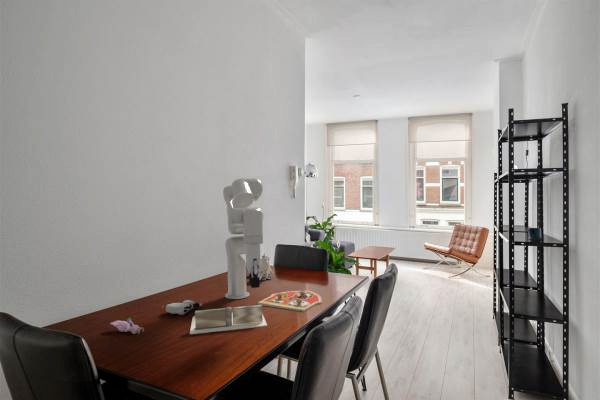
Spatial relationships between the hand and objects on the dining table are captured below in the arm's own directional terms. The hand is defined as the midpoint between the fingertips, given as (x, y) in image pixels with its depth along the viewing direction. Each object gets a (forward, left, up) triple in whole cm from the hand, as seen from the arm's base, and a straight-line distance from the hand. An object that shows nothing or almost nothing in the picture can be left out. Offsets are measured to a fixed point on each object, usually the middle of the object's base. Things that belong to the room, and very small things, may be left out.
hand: (254, 284), depth 139 cm
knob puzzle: (-35, +24, -18) cm, 46 cm away
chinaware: (-87, +13, -18) cm, 89 cm away
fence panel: (-7, -2, -17) cm, 18 cm away
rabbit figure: (-13, -50, -18) cm, 55 cm away
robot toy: (-33, -30, -18) cm, 48 cm away
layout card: (-13, -10, -18) cm, 24 cm away
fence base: (-7, -16, -18) cm, 25 cm away
